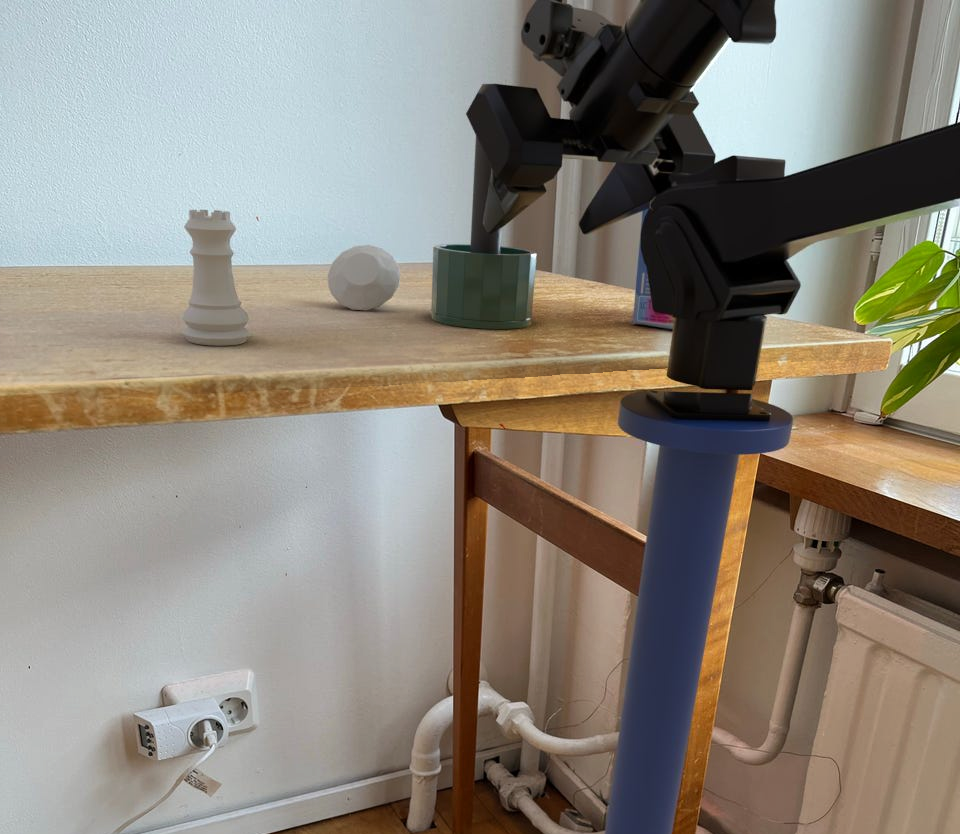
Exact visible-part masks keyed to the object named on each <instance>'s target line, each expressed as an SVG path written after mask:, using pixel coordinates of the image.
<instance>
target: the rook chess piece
mask: <svg viewBox="0 0 960 834" xmlns="http://www.w3.org/2000/svg"><path fill="white" fill-rule="evenodd" d="M210 213H211V214H210V215H209V210H208V209H199V210H198V209H189V210H188V215H189V218H188V219H187V221H186V223H185V224H184V226H183V228H184V229H185V230H186V232H187V234H188V235H189V236H190V237H191V240H192V248H190V250H189V254H190V255H191V257H192V260H193V261H192V263H193V274H192V275H193V276H192V288H191V295H190V299H188V300H187V303H188V307H186V309H185V310H184V311H183V313H182V319H181V320H182V321H183V322H184V324H186V325H187V327H186V328H185V329H184V330H183V331H182V335H183V336H184V338H185V339H186V340H187V341H188V342H190V343H191V344H195V345H200V346H201V345H203V346H217V347H218V346H219V347H220V346H221V347H222V346H223V347H224V346H236V345H241V344H242V345H243V344H244V343H246V342H247V341H248V339H249V337H250V336H251V332H250V331H249V330H248V329H247V328H245V327H246V325H247V324H248V323H249V319H250V318H249V316H248V313H247V312H246V310H245V309H243V307H242V306H241V305H242V301H241V300H240V299H239V297H238V294H237V290H236V285H235V279H234V273H233V266H232V257H233V256H234V254H235V252H234V251H233V250H232V247H231V238H232V237H233V236H234V234H235V232H236V230H237V227H236V225H235V224H234V223H233V221H231V212H230V211H228V210H226V211H224V210H218V209H217V210H216V209H214V210H213V211H211V212H210Z"/></svg>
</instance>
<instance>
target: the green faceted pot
mask: <svg viewBox="0 0 960 834" xmlns="http://www.w3.org/2000/svg"><path fill="white" fill-rule="evenodd" d="M470 245H471V243H443V244H442V243H441V244H435V245H434V246H433V249H432V275H431V277H432V278H431V279H432V281H431V308H430V310H431V311H430V312H431V319H432V320H433V321H434V322H437V323H440V324H444V325H448V326H453V327H461V328H470V329H480V330H481V329H482V330H483V329H484V330H514V329H522V328H527V327H529V326H531V325H532V317H533V306H534V305H533V304H534V294H535V283H536V282H535V281H536V280H535V279H536V268H537V256H538V253H537V251H534V250H531V249H528V248H527V249H526V248H520V247H513V246H512V247H511V246H503V245H501V247H500V254H488V253H474V252H470Z"/></svg>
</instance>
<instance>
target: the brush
mask: <svg viewBox="0 0 960 834" xmlns="http://www.w3.org/2000/svg"><path fill="white" fill-rule="evenodd" d="M474 144H475V145H474V165H473V184H472V185H473V187H472V205H471V206H472V209H471V225H470V227H471V228H470V229H471V230H470V244H471V245H470V252H474V253H488V254H500V247H501V246H502V245H501V243H502V228H503V227H502V228H500V229H499V230H497V231H496V232H494V233H493V234H488V233H487V231H486V229H485V227H484V225H483V217H484V212H485V206H486V200H487V194H488V189H489V183H490V177H491V166H490V164H489V162H488V160H487V158H486V155H485V153H484V151H483V149H482V147H481V145H480V143H479V141H478V138H477V136H476V135H475V143H474Z"/></svg>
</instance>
